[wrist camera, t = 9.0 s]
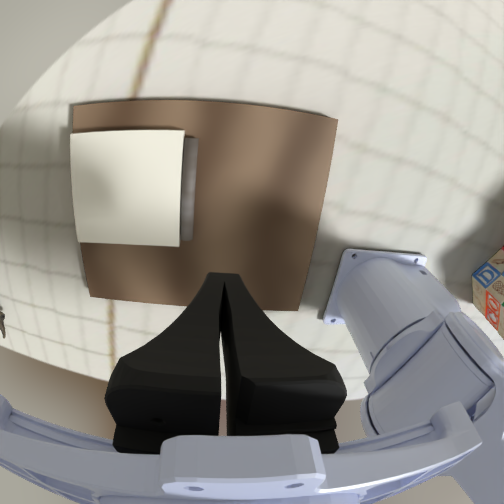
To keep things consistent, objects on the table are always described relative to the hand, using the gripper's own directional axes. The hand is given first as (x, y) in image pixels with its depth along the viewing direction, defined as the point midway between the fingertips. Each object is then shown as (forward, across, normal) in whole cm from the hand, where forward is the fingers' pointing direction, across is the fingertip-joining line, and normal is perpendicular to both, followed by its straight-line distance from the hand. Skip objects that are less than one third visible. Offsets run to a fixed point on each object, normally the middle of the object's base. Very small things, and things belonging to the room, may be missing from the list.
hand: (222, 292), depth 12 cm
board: (+10, +2, 0) cm, 10 cm away
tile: (+8, +7, -2) cm, 11 cm away
